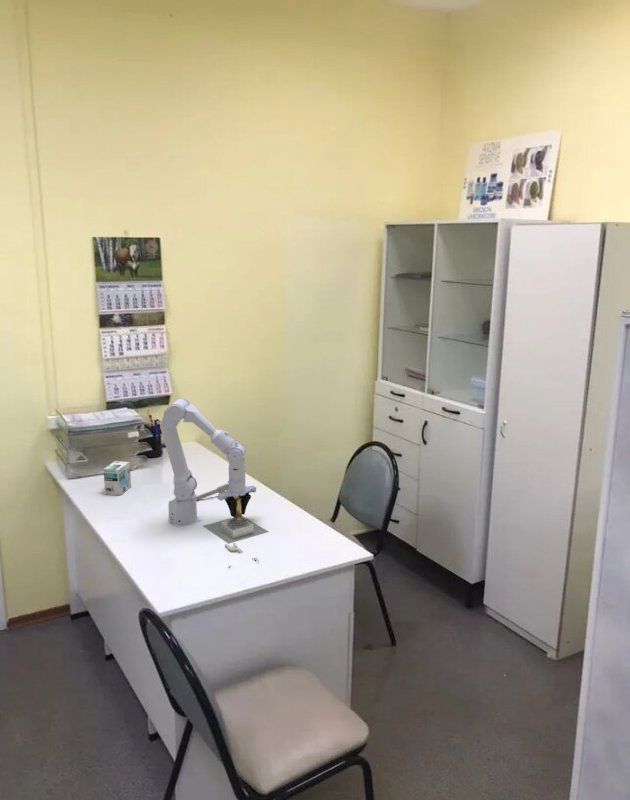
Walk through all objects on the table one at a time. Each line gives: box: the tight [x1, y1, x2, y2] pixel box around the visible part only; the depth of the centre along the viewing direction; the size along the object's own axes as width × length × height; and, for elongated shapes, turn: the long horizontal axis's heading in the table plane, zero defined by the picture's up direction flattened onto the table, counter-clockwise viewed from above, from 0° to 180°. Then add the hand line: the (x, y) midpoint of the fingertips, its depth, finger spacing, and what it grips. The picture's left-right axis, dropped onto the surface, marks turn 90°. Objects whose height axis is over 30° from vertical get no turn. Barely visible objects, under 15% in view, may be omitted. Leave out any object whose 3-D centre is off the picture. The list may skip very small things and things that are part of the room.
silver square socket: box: [221, 517, 254, 539], centre depth 233 cm, size 8×8×3 cm
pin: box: [233, 496, 243, 519], centre depth 242 cm, size 3×3×9 cm
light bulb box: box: [103, 460, 132, 496], centre depth 272 cm, size 11×7×11 cm, turn 171°
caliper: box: [196, 480, 229, 502], centre depth 265 cm, size 20×1×6 cm, turn 121°
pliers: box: [224, 542, 260, 568], centre depth 217 cm, size 10×2×15 cm
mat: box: [202, 515, 269, 545], centre depth 236 cm, size 16×18×1 cm
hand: (237, 514), depth 242 cm, fingers open, 3 cm apart
